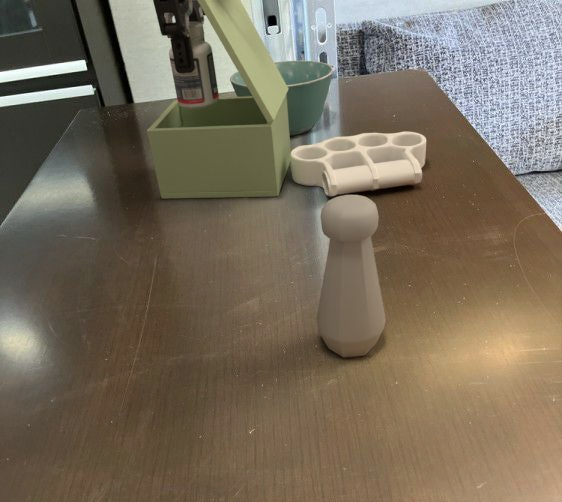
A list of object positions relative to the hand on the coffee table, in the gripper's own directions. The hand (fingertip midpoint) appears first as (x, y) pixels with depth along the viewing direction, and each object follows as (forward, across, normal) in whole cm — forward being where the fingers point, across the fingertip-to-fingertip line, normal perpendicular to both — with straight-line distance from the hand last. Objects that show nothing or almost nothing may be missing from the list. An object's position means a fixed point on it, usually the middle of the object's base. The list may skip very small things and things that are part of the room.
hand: (192, 64), depth 77 cm
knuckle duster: (+15, 0, +21) cm, 25 cm away
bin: (+14, 0, +3) cm, 15 cm away
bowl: (+15, -20, +8) cm, 26 cm away
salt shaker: (+15, +37, +22) cm, 45 cm away
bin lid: (-2, 0, +6) cm, 7 cm away
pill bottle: (+5, 0, 0) cm, 5 cm away
